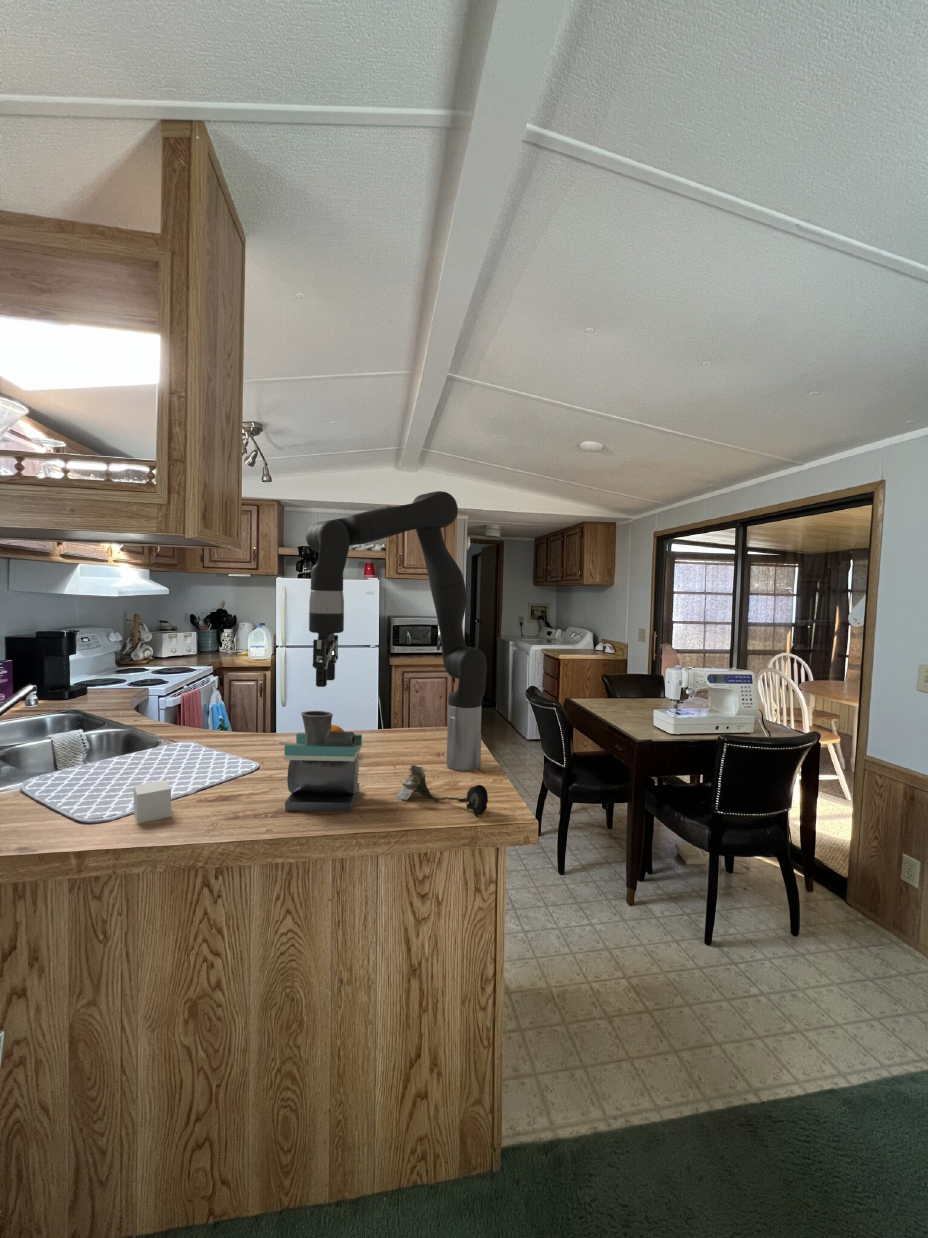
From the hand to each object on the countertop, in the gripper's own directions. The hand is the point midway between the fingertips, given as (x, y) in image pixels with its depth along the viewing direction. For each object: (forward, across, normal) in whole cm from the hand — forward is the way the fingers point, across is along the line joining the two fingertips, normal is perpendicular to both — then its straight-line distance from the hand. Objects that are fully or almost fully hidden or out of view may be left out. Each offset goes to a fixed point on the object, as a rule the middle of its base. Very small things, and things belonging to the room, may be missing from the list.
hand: (325, 683), depth 120 cm
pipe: (+15, 0, 0) cm, 15 cm away
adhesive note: (+27, -9, +34) cm, 44 cm away
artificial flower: (+27, -1, -26) cm, 37 cm away
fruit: (+27, +33, +6) cm, 43 cm away
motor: (+27, 0, 0) cm, 27 cm away
